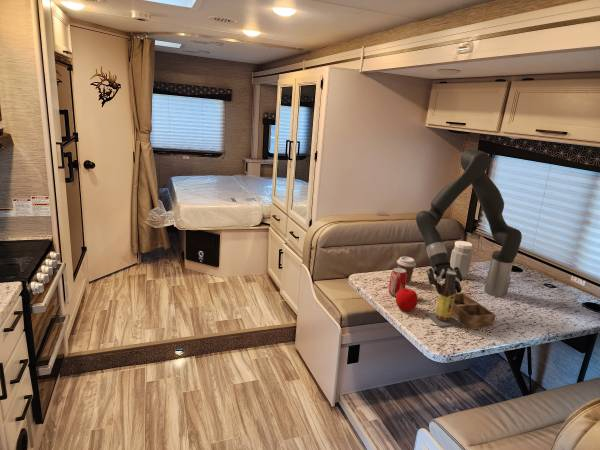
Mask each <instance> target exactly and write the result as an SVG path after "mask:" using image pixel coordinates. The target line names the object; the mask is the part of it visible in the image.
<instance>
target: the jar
mask: <svg viewBox="0 0 600 450" xmlns="http://www.w3.org/2000/svg"><path fill="white" fill-rule="evenodd" d="M472 249H473V244H472V243H471V242H469V241H465V240H456V241H455V242H454V247H453V249H452V251H451V254H450V258H449V260H450V266H451V267H452V268H455V267H458V268H459V270H460V273H461V275H462V278H463V279H466V278H467V277H468V276H469V273H470V272H469V271H470V267H471V262H472V258H473V253H472Z"/></svg>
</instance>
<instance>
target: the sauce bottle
mask: <svg viewBox="0 0 600 450" xmlns="http://www.w3.org/2000/svg"><path fill="white" fill-rule="evenodd" d="M456 277H457V273H455V272H453V271H447V272H446V278H445V279H444V282H443V283H442V284H441V287H442V290H443V293H442V294H439V293H438V297H437V302H436V306H435V307H436V309H435V312H436V313H435V317H436V318H437V319H439V320H442V321H449V320H450V319H451V316H452V311H453V306H454V301H455V296H456V293H457V292H456V289H455V281H456V280H455V279H456Z"/></svg>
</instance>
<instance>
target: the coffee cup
mask: <svg viewBox="0 0 600 450" xmlns="http://www.w3.org/2000/svg"><path fill="white" fill-rule="evenodd" d="M396 264H397V268H403V269H405V270H406V273H407V279H406V285H410V284H411V280H412V277H413V272H414V269H415V267H416V265H417V263H416V262H415V259H414V258H413V257H410V256H400V257H399V258H398V259H397V260H396Z"/></svg>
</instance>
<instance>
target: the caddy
mask: <svg viewBox="0 0 600 450" xmlns="http://www.w3.org/2000/svg"><path fill="white" fill-rule="evenodd" d="M452 316H453V317H454V318H455V319H456V320H458V321H459V322H460V323H461V325H463V326H464V327H465V328H466V329H480V328H488V327H494V325H495V320H496V316H497V315H496V314H495V313H494V312H492V311H491V310H489V309H487V308H486V307H485V306H483V305H482V304H481V303H479V302H477V300H475V299H473V298H472V297H470V296H469V295H467V294H466V293H464V292H462V291H461V292H460V293H457V292H456V296H455V301H454V306H453V311H452Z"/></svg>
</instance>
